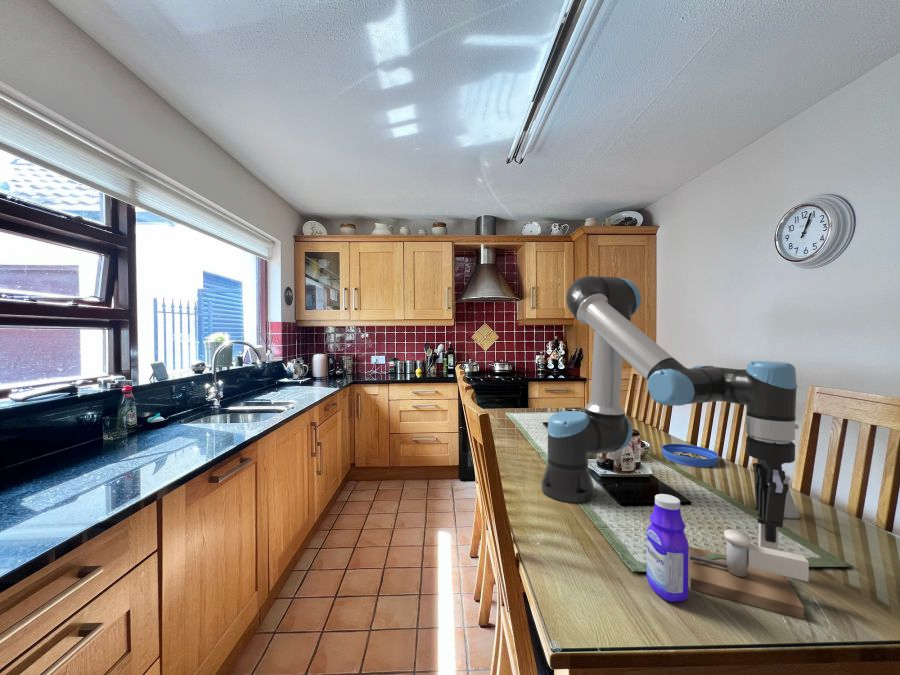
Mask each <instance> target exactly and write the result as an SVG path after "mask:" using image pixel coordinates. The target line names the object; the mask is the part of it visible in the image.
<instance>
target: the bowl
mask: <svg viewBox="0 0 900 675" xmlns="http://www.w3.org/2000/svg"><path fill="white" fill-rule="evenodd" d="M661 451H662V455H663V457H664V458H665V459H666V460H668V461H670V462H672V463H676V464H679V465H682V466H687V467H688V466H689V467H696V468H711V466H712V467H715V466H716V465H717V462H718V460H719V454H718V453H717V452H716V451H714V450H712V449H709V448H706V447H702V446H697V445H691V444H683V443H668V444H664V445H662V446H661ZM672 452H682V453H683V454H687V453H692V454H691V455H693V454H696V456H698V455H700V457H701V456H703V457H706V458H708V459H702V458H696V457H691V456H689V455H683V454H681V453H680V455H678V453H672ZM676 454H677V455H676ZM714 465H715V466H714Z"/></svg>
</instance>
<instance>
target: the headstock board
mask: <svg viewBox="0 0 900 675" xmlns="http://www.w3.org/2000/svg"><path fill="white" fill-rule="evenodd" d="M690 555H694V556H698V557H702V558H706V559H711V560H715V561H719V562H723V563H726V554H723V553H718V552H714V551H709V550H706V549H700V548H697V547H692V546H689V557H690ZM688 578H689V581H688V584H689V587H690V590H694V591H697V592H700V593H705V594H708V595H712V596H716V597H718V598H719V597H720V598H723V599H727V600H731V601H733V602H734V601H735V602H738V603H740V604H741V603H742V604H746V605H748V606H752V607H756V608H759V609H764V610H767V611H771V612H774V613H775V612H776V613H778V614H782V615H786V616H788V617H789V616H790V617H793V618H798V619H801V620H805V619H804V618H805V608H804V607H805V606H804V605H803V604H802V601H801V600H800V598H799V597H798V596H797V594H796V592H795V590H794V588H793V587H792V585H791V584H790V582H789V580H788V578H787V576H783V575H778V574H774V573H770V572H765V571H761V570H757V569H753V568H749V567H748V565H747V576H745V577H741V576H737V575H734V574H732V573H730V572H729V571H728V570H727V569H726V568H724V567H720V566H715V565H711V564H707V563H703V562H699V561H695V560H690V558H689V561H688Z"/></svg>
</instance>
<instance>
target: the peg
mask: <svg viewBox="0 0 900 675" xmlns="http://www.w3.org/2000/svg"><path fill="white" fill-rule="evenodd" d="M723 537H724V539H725V541H726V554H725V555H726V563H723V562H719V561H715V560H711V559H706V558H702V557H698V556H694V555H690V557H689V558H690V560H695V561H699V562H703V563H707V564H711V565H715V566H720V567H724V568H726V569H727V570H728V571H729V572H730V573H732V574H734V575H737V576H741V577H745V576H747V565H748V567H749V568H753V569H757V570H761V571H765V572H770V573H774V574H778V575H783V576H786V578H787V577H788V578H791V579H792V578H793V579H797V580H799V581H800V580H801V581H804V582H809V575H810V574H809V571H810V570H809V567H810V566H809V565H810V564H809V560H808V559H807V558H806V557H805V555H802V554H796V553H792V552H786V551H783V550H779V549H778V550H774V549H769V548H764V547H760V546H758V545H755V544H751V540H752V538H751V536H750V535H748V534H746V533H745V532H742V531H740V530H735V529H725V530H724V532H723Z"/></svg>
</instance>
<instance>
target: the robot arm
mask: <svg viewBox="0 0 900 675" xmlns="http://www.w3.org/2000/svg"><path fill="white" fill-rule="evenodd" d="M641 296H642V295H641V292H640V290H639V287H638V286H637V285H636V284H635V283H634V282H633V281H632V280H631V279H630V280H629V279H627V278H622V277H617V276H615V277H614V276H613V277H611V276H596V275H585V276H582V277H579V278H577V279H576V280H574V281H573V282H572V284H570V286H569V288H568V290H567V292H566V298H565V299H566V301H565V302H566V305H567V306H566V307H567V308H568V310H569V311H570V313H571V315H573V317H574V318H576V320H577V321H579V322H580V323H581V324H584V325H589V327H590V328H591V329H592V330H593V346H592V348H593V349H592V364H591V366H592V368H591V386H590V401H589V403H587V404H586V405H585V406H584V412H583V411H577V410H571V411H568V410H563V411H559V412H556V413H553V414H551V415H550V417H549V418H548V422H547V429H546V432H547V463H546V467H545V471H544V472H543V476H542V477H541V478H542V479H541V481H540V482H541V485H540V486H541V491H542V493H543V494H544V495H546V496H547V497H549V498H552V499H553V500H558V501H561V502H567V503H584V502H589V501H591V500H592V499H593V498H594V497H595V486H594V483H593V479H592V477H591V473H590V471H589V456H591V455H598V454H604V453H605V454H606V453H615V452H618V451H620V450H623V449H624V448H626V447H627V446H629V444H630V442H631V441H632V437H633V425H632V423H630V419H629V418H628V417H627V416H626V411H625V409H624V408H623V407H622V406H621V396H622V395H621V393H622V379H623V378H622V375H623V362H624V361H626V362H627V363H628V364H629V365H630V366H631V367H633V369H635V371H637V372H638V374H639V375H640V376H642V377H643V378H644V379H645V380H646V381H647V385H646V386H647V391H648V392H649V395H650V397H651V399H652V400H654V401H655V403H657V404H659V405H663V406H676V407H677V406H678V407H680V406H685V405H692V404H704V403H712V402H713V403H714V402H722V403H723V402H724V403H731V404H737V405H743V406H745V407H746V408H745V409H746V414H745V433H746V434H747V436H746V437H745V453H746V454H747V455H748V456H749V457H752V458H753V459H756V460H757V462H753V463H752V467H753V474H754V477H753V478H754V498H755V499H754V500H755V508H754V509H755V511H756V512H757V517H758V518H756V519H757V520H756V521H757V524H758V545H757V546H760V547H764V548H769V549H774V550H779V528H781V529H782V528H783V526H784V510H785V501H786V494H787V492H788V489H789V490H790V486H789V487H788V485H787V484H784V483H783V481H784V480H785V475H786V471H785V470H783V466H782V465H783V464H792V463H794V462H795V461H796V444H795V443H794V442H793V441H795V440H796V430H799V427H800V426H799V424H797V423H796V410H797V409H796V408H797V407H796V406H797V404H796V403H797V389H798V383H797V374H796V373H797V372H796V371H797V370H796V367H795V366H794V365H793V364H792V363H789V362H785V361H783V362H782V361H768V360H765V361H764V360H752V361H749V362H748V363H747V364H746V368H744V369H743V368H742V369H741V368H739V369H738V368H732V367H731V368H729V367H719V366H714V365H695V366H693V367H692V368H688V367H686V366H685V365H683V364H682V363H681V362H679V361H678V360H677V359H676V358H674V357H673V356H672V355H671V354H670V353H668V352H667V351H666V350H665V349H664V348H662V347H661V345H659V344H658V343H656V342H655V341H654V340H653V339H652V338H651V337H649V336H648V335H647V334H646V333H644V332H643V331H642V330H641V329H639V328H638V327H637V326H636V325H635V324H634V323H632V321H631V319H632V316H633V315H634V314H636V313H637V310H639V309H640V306H641V303H642V302H641V301H642V297H641ZM623 360H624V361H623Z"/></svg>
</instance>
